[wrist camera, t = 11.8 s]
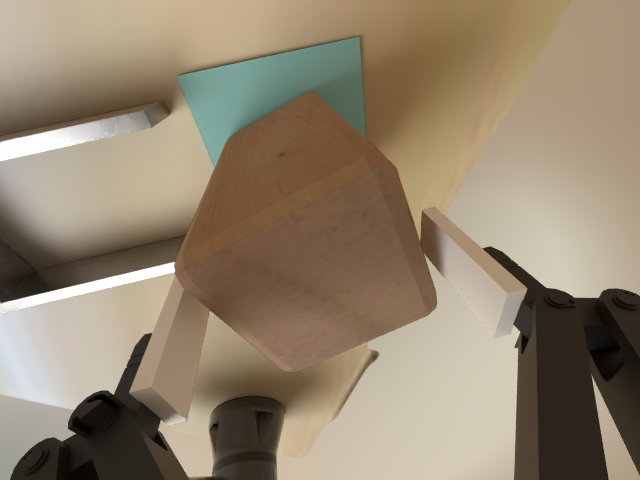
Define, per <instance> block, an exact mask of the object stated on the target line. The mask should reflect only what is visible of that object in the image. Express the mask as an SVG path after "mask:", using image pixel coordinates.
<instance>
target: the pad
mask: <svg viewBox="0 0 640 480" xmlns="http://www.w3.org/2000/svg"><path fill="white" fill-rule="evenodd" d="M176 77H177V79H178V81H179V84H180V86H181V89H182V91H183V93H184V96H185V98H186V101H187V103H188V105H189V108H190V110H191V113H192V115H193V117H194V120H195V122H196V125H197V127H198V129H199V132H200V134H201V136H202V139H203V141H204V144H205V146H206V148H207V151H208V153H209V156H210V158H211V160H212V163H213V165H214V168H215V166H216V164H217V162H218V159H219V157H220V154H221V152H222V150H223V147H224V145H225V143H226V141H227V140H228V138H229V137H230V136H231V135H233V134H235V133H237V132H238V131H240V130H242V129H243V128H245V127H247V126H249V125H250V124H252V123H254V122H256V121H257V120H259V119H261V118H262V117H264V116H266V115H268V114H269V113H271V112H273V111H275V110H276V109H278V108H280V107H281V106H283V105H285V104H287V103H288V102H290V101H292V100H293V99H295V98H297V97H299V96H300V95H302V94H304V93H308V92H314V93H315V94H316V95H318V96H319V97H320V98H321V99H322V100H323V101H324V102H325V103H326V104H328V105H329V106H330V107H331V108H332V109H333V110H334V111H335V112H336V113H338V114H339V115H340V116H341V117H342V118H343V119H344V120H345V121H347V122H348V123H349V124H350V125H351V126H352V127H353V128H354V129H355V130H357V131H358V132H359V133H360V134H361V135H362V136H363V137H364V138H366V125H365V111H364V96H363V82H362V68H361V53H360V39H359V37H355V38H350V39H346V40H341V41H336V42H332V43H327V44H322V45H318V46H313V47H309V48H304V49H299V50H295V51H290V52H285V53H281V54H276V55H271V56H267V57H262V58H257V59H253V60H248V61H243V62H239V63H234V64H229V65H225V66H220V67H216V68H211V69H206V70H202V71H197V72H192V73H188V74H183V75H178V76H176Z"/></svg>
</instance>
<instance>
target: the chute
mask: <svg viewBox="0 0 640 480" xmlns="http://www.w3.org/2000/svg"><path fill="white" fill-rule="evenodd" d="M169 115H170V113H169V111H168V109H167V107H166V105H165V103H164V100H163V101H159V102H154V103H149V104H145V105H140V106H136V107H131V108H126V109H122V110H117V111H113V112H108V113H103V114H99V115H94V116H90V117H85V118H80V119H76V120H71V121H67V122H62V123H57V124H53V125H48V126H44V127H39V128H35V129H30V130H25V131H21V132H16V133H12V134H7V135H2V136H0V161H2V160H7V159H11V158H16V157H20V156H25V155H29V154H34V153H39V152H43V151H48V150H52V149H57V148H61V147H66V146H70V145H75V144H79V143H84V142H88V141H93V140H97V139H102V138H107V137H111V136H116V135H120V134H125V133H129V132H134V131H138V130H143V129H147V128H152V127H153V126H155V125H156V124H158V123H159V122H160V121H162V120H163V119H165V118H166V117H168V116H169ZM185 237H186V235H185V236H181V237H177V238H172V239H168V240H164V241H160V242H155V243H151V244H147V245H143V246H138V247H134V248H130V249H125V250H121V251H117V252H113V253H108V254H104V255H100V256H96V257H91V258H87V259H83V260H79V261H74V262H70V263H66V264H61V265H57V266H53V267H49V268H44V269H40V270H36V271H34V270H33V269H32V268H31V267H30V266H29V265H28V264H27V263H26V262H25V261H24V260H23V259H22V258H20V257H19V256H18V255H17V254H16V253H15V252H14V251H13V250H12V249H11V248H10V247H9V246H8V245H6V244H5V243H4V242H3V241H2V240H1V239H0V313H4V312H9V311H13V310H17V309H21V308H25V307H29V306H34V305H38V304H42V303H46V302H50V301H55V300H59V299H63V298H67V297H71V296H76V295H80V294H84V293H88V292H92V291H97V290H101V289H105V288H109V287H113V286H118V285H122V284H126V283H130V282H134V281H139V280H143V279H147V278H151V277H155V276H159V275H164V274H168V273H172V272H175V269H174V263H175V261H176V259H177V256H178V254H179V252H180V249H181V247H182V244H183V242H184V240H185Z"/></svg>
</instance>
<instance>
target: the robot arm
mask: <svg viewBox="0 0 640 480" xmlns="http://www.w3.org/2000/svg"><path fill="white" fill-rule="evenodd" d="M420 243H421V247H422V250H423V253H424V254H425V255H426V256H427V257H428V258H429V260H430V261H431V262H432V264H433V265H434V266H435V267H436V268H437V270H438V271H439V272H440V273H441V275H442V276H443V277H444V278H445V280H447V282H448V283H449V284H450V286H451V287H452V288H453V289H454V291H455V292H456V293H457V294H458V296H459V297H460V298H461V299H462V300H463V301H464V303H465V304H466V305H467V307H468V308H469V309H470V310H471V311H472V313H473V314H474V315H475V316H476V317H477V319H478V320H479V321H480V322H481V324H482V325H483V326H484V327H485V329H486V330H487V331H488V332H489V334H490V335H491V336H492V337H493V338H496V337H500V336H504V335H508V334H511V331H512V328H513V325H515V327H516V328H517V329H518V330H519V331H520V335H519V337H518V339H517V342H516V344H515V348H519V349H518V350H519V351H518V380H517V410H516V412H517V413H516V443H515V473H514V480H608V473H607V467H606V461H605V455H604V449H603V443H602V437H601V431H600V424H599V418H598V412H597V406H596V400H595V394H594V388H593V382H592V376H593V378H594V381H595V382H596V385H597V387H598V389H599V391H600V393H601V395H602V397H603V399H604V402H605V404H606V405H607V408H608V410H609V412H610V414H611V416H612V418H613V420H614V422H615V424H616V427H617V429H618V431H619V432H620V435H621V437H622V439H623V441H624V443H625V445H626V448H627V450H628V452H629V454H630V456H631V458H632V460H633V462H634V464H635V466H636V468H637V471H638V473H639V475H640V296H639V295H637V294H636V293H632V292H630V291H627V290H622V289H607V290H604V291H603V292H602V293H601V295H600V297H599V298H574V297H573V296H571V295H569V294H568V293H566V292H563V291H560V290H557V289H550V288H546V287H544V286H543V285H542V284H541V283H540V282H538V281H537V280H536V279H535V278H533V277H532V276H531V275H530V274H528V273H527V272H526V271H525V270H524V269H522V268H521V267H520V266H518V264H516V263H515V262H514V261H513V260H511V259H510V258H509V257H508V256H507V255H505V254H504V253H503V252H502V251H499V250H497V249H495V248H492V247H491V246H490V247H486V248H481V247H480V246H479V245H477V244H476V243H475V242H474V241H473V240H472V239H471V238H470V237H468V236H467V235H466V234H465V233H464V232H463V231H461V230H460V229H459V228H458V227H457V226H456V225H455V224H453V222H451V221H450V220H449V219H448V218H447V217H446V216H445V215H443V214H442V213H441V212H440V211H439V210H438V209H437V208H436V207H432V208H428V209H424V210H422V219H421V240H420ZM209 312H210V310H209V309H208V308H207V307H206V306H204V305H203V304H202V303H201V302H200V301H198V300H197V299H196V298H195V297H194V296H192V295H191V294H190V293H189V292H188V291H186V290H185V289H184V288H183V287H182V286H181V284H180V282H179V280H178V279H177V277H176V275H175V278H174V281H173V283H172V286H171V288H170V291H169V293H168V296H167V298H166V301H165V303H164V306H163V308H162V311H161V313H160V316H159V318H158V321H157V323H156V326H155V328H154V331H153V333H150V334H146V335H144V336H143V337H142V338H141V339H140V341H139V342H138V343H137V344H136V346H135V348H134V350H133V352H132V355H131V359H129V361H128V364H127V368H125V370H124V373H123V375H122V377H121V380H120V382H119V384H118V386H117V389H116V391H115V393H114V395H113V394H111V393H110V392H109V391H99V392H96V393H94V394H92V395H90V396H89V397H87V398H86V399H85V400H84V401H83V402H81V403H80V404H79V405H78V406H77V408H76V409H75V410H74V412H73V413H72V415H71V417H70V419H69V421H68V429H69V430H71V431H73V432H75V433H76V434H75V435H73V436H71V437H70V438H68V439H66V440H64V441H60V440H58V439H56V438H47V439H45V440H43V441H41V442H39V443H37V444H36V445H35V446H34V447H32V448H31V449H30V450H29V451H28V452H27V453H26V454H25V455H24V456H23V457H22V458H21V459H20V461H19V462H18V464H17V465H16V467H15V468H14V471H13V473H12V476H11V479H10V480H277V463H276V454H277V449H278V444H279V440H280V436H281V431H282V427H283V423H284V414H283V407H282V405H281V404H280V403H278V402H277V401H275V400H272V399H268V398H262V397H247V398H240V399H236V400H232V401H229V402H227V403H224V404H222V405H220V406H219V407H217V408H216V409H215V410H214V411H213V412H212V414H211V416H210V423H209V435H210V441H211V447H212V454H213V460H214V463H213V472H212V476H211V477H187V475H186V473H185V471H184V470H183V468H182V466H181V465H180V463H179V461H178V460H177V458H176V457H175V455H174V453H173V451H172V450H171V448H170V446H169V445H168V443H167V441H166V440H165V438H164V436H163V435H162V433H161V432H160V431H158V428H159V424H160V421H161V420H162V421H163V422H164V423H166V424H167V425H168V426H169V425H172V424H176V423H180V422H184V421H187V418H188V413H189V408H190V403H191V398H192V394H193V389H194V384H195V379H196V374H197V370H198V365H199V360H200V355H201V350H202V346H203V341H204V336H205V331H206V326H207V322H208V317H209ZM518 346H519V347H518ZM591 374H592V375H591Z"/></svg>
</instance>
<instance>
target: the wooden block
mask: <svg viewBox="0 0 640 480" xmlns="http://www.w3.org/2000/svg"><path fill="white" fill-rule="evenodd" d="M174 269H175V275H176V277H177V279H178V280H179V282H180V284H181V286H182V287H183V288H184V289H185V290H186V291H188V292H189V293H190V294H191V295H192V296H194V297H195V298H196V299H197V300H198V301H200V302H201V303H202V304H203V305H204V306H206V307H207V308H208V309H209V310H210V311H212V312H213V313H214V314H215V315H216V316H218V317H219V318H220V319H221V320H222V321H224V322H225V323H226V324H227V325H228V326H230V327H231V328H232V329H233V330H234V331H236V332H237V333H238V334H239V335H240V336H242V337H243V338H244V339H245V340H246V341H248V342H249V343H250V344H251V345H252V346H254V347H255V348H256V349H257V350H258V351H260V352H261V353H262V354H263V355H264V356H266V357H267V358H268V359H269V360H270V361H272V362H273V363H274V364H275V365H276V366H278V367H279V368H280V369H281V370H282V371H288V372H292V371H300V370H303V369H305V368H307V367H310V366H312V365H314V364H316V363H319V362H321V361H323V360H326V359H328V358H330V357H333V356H335V355H337V354H340V353H342V352H344V351H347V350H349V349H351V348H354V347H356V346H358V345H361V344H363V343H365V342H367V341H370V340H372V339H374V338H377V337H379V336H381V335H384V334H386V333H388V332H391V331H393V330H395V329H397V328H400V327H402V326H405V325H407V324H409V323H411V322H414V321H416V320H418V319H421V318H423V317H425V316H428V315H429V314H430V313H431V312H432V311H433V310H434V309H435V308H436V306H437V297H436V291H435V287H434V284H433V281H432V278H431V275H430V272H429V269H428V265H427V263H426V259H425V256H424V253H423V250H422V247H421V243H420V240H419V237H418V234H417V231H416V228H415V225H414V222H413V218H412V215H411V212H410V209H409V206H408V203H407V200H406V196H405V193H404V190H403V187H402V184H401V181H400V178H399V175H398V171H397V168H396V167H395V166H394V165H393V164H392V163H391V162H390V161H389V160H388V159H387V158H386V157H385V156H384V155H383V154H382V153H381V152H380V151H379V150H378V149H377V148H376V147H374V146H373V145H372V144H371V143H370V142H369V141H368V140H367V139H366V138H364V137H363V136H362V135H361V134H360V133H359V132H358V131H357V130H355V129H354V128H353V127H352V126H351V125H350V124H349V123H348V122H347V121H345V120H344V119H343V118H342V117H341V116H340V115H339V114H338V113H336V112H335V111H334V110H333V109H332V108H331V107H330V106H329V105H328V104H326V103H325V102H324V101H323V100H322V99H321V98H320V97H319V96H318V95H316V94H315V93H314V92H308V93H304V94H302V95H300V96H299V97H297V98H295V99H293V100H292V101H290V102H288V103H287V104H285V105H283V106H281V107H280V108H278V109H276V110H275V111H273V112H271V113H269V114H268V115H266V116H264V117H262V118H261V119H259V120H257V121H256V122H254V123H252V124H250V125H249V126H247V127H245V128H243V129H242V130H240V131H238V132H237V133H235V134H233V135H231V136H230V137H229V138H228V140H227V141H226V143H225V145H224V147H223V150H222V152H221V154H220V157H219V159H218V162H217V164H216V166H215V169H214V171H213V173H212V176H211V178H210V180H209V183H208V185H207V188H206V190H205V192H204V195H203V197H202V199H201V202H200V204H199V207H198V209H197V211H196V214H195V216H194V218H193V221H192V223H191V226H190V228H189V230H188V233H187V235H186V237H185V240H184V242H183V244H182V247H181V249H180V252H179V254H178V256H177V259H176V261H175V263H174Z"/></svg>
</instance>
